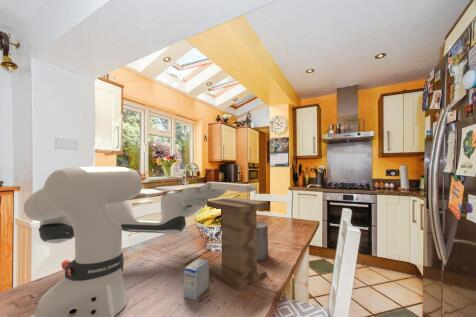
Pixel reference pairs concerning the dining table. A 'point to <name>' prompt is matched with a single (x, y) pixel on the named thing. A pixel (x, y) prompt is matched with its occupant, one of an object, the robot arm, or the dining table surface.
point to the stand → (238, 241)
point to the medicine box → (196, 278)
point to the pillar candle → (262, 241)
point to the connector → (232, 187)
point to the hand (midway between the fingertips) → (214, 184)
